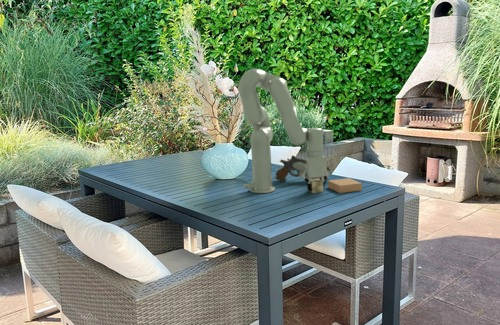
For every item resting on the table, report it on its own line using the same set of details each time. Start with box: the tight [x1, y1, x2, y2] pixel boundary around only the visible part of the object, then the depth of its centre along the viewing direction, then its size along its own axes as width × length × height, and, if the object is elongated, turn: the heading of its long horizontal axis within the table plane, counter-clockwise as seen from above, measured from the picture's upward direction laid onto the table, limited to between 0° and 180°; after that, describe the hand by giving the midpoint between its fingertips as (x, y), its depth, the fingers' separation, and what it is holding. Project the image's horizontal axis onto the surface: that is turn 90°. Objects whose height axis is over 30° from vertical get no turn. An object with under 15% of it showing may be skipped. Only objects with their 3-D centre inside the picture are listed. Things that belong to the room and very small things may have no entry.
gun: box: [274, 155, 331, 183], centre depth 230 cm, size 5×27×15 cm, turn 79°
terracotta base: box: [327, 177, 363, 194], centre depth 212 cm, size 12×12×4 cm
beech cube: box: [308, 179, 324, 194], centre depth 209 cm, size 6×6×6 cm
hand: (315, 189), depth 209 cm, fingers closed on beech cube, 5 cm apart
